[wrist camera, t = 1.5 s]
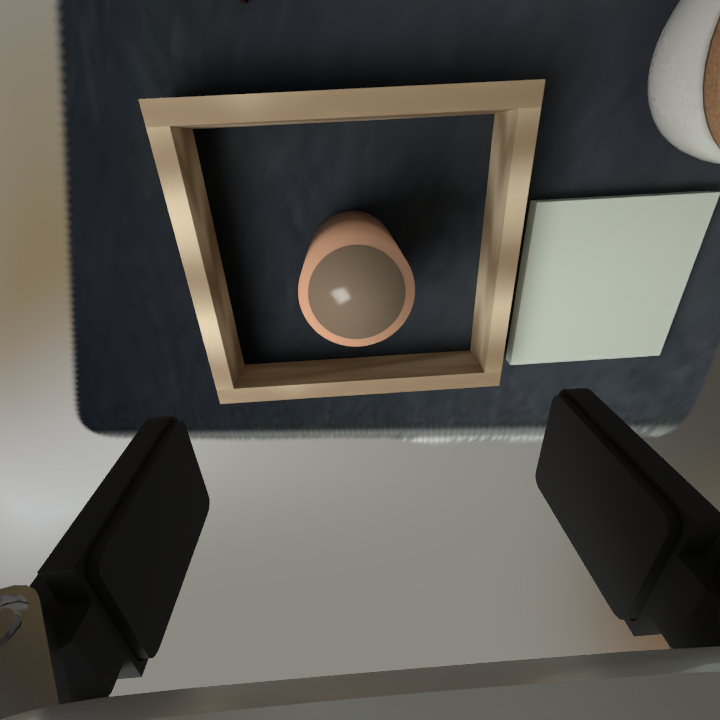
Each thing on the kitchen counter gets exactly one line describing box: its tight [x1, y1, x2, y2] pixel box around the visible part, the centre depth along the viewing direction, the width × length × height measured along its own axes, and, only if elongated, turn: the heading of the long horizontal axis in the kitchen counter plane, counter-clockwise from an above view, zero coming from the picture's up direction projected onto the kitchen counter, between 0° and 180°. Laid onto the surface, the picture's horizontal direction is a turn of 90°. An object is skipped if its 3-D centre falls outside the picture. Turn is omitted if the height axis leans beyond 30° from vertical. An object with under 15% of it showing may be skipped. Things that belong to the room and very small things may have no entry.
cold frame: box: [139, 79, 546, 404], centre depth 25 cm, size 18×20×4 cm
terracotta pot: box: [298, 211, 415, 346], centre depth 23 cm, size 6×6×8 cm
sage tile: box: [506, 191, 720, 365], centre depth 28 cm, size 12×12×1 cm
